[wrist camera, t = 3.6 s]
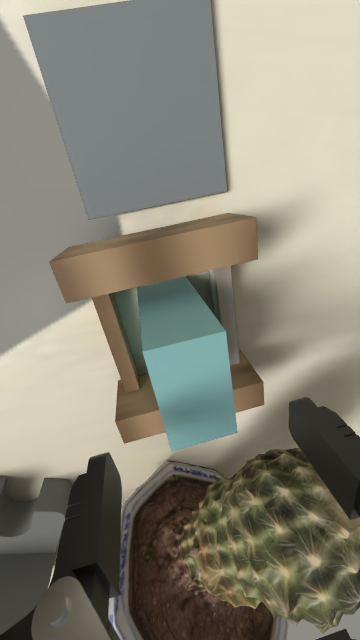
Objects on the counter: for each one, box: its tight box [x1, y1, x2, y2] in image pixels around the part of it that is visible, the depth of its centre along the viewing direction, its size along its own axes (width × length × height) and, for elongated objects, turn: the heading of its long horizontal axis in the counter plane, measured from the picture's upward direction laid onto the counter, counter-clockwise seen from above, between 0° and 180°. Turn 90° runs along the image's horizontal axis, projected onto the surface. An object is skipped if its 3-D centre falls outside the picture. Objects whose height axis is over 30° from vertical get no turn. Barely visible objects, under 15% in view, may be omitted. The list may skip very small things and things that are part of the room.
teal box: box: [137, 276, 237, 451], centre depth 18 cm, size 4×7×10 cm, turn 11°
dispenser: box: [49, 213, 264, 443], centre depth 20 cm, size 12×15×5 cm
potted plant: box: [108, 448, 360, 640], centre depth 23 cm, size 18×18×30 cm
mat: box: [23, 0, 227, 220], centre depth 16 cm, size 10×10×1 cm
